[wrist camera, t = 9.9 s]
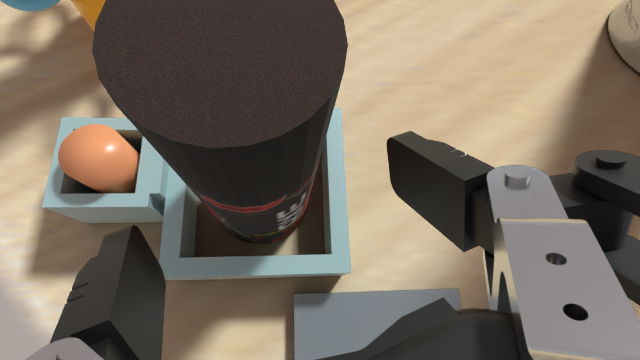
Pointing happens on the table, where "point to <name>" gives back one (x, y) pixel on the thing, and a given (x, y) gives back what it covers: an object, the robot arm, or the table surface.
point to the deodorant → (229, 97)
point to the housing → (182, 204)
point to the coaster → (354, 318)
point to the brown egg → (100, 159)
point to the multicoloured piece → (87, 3)
